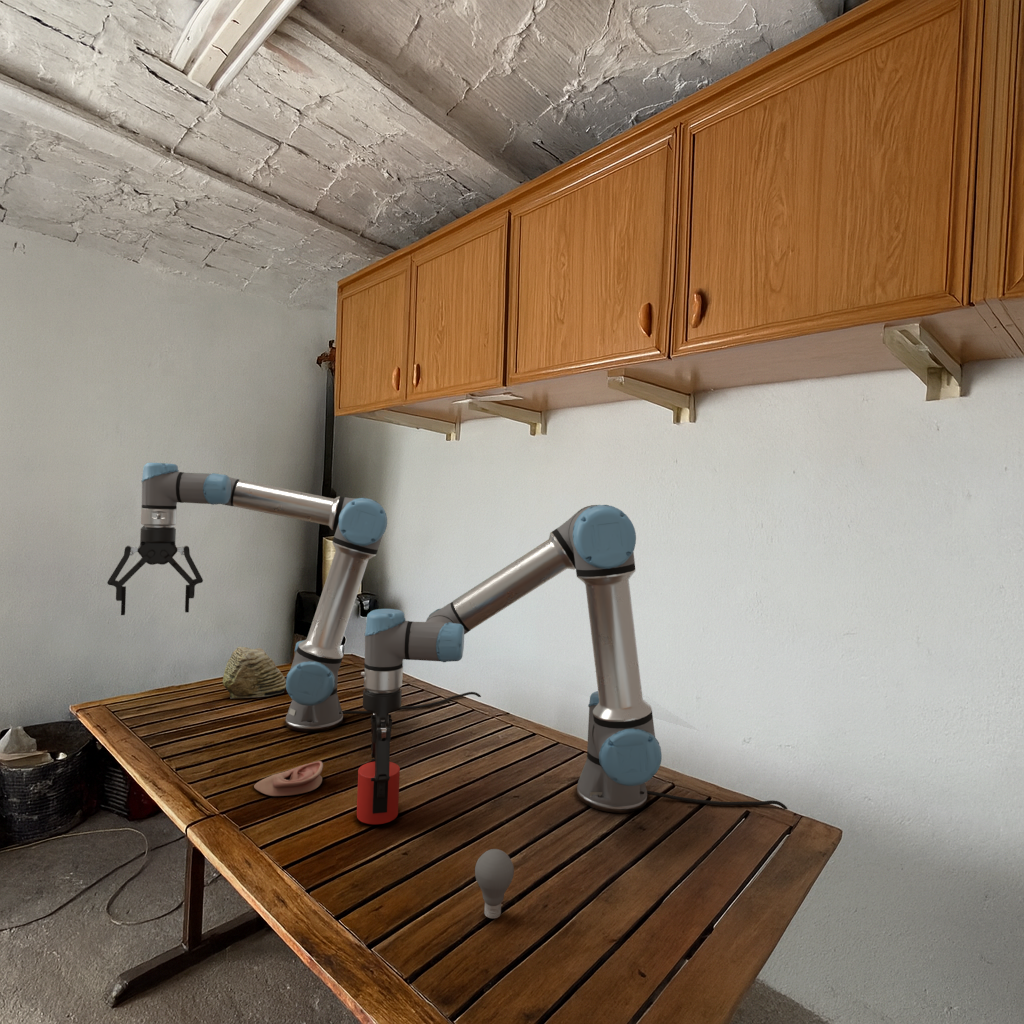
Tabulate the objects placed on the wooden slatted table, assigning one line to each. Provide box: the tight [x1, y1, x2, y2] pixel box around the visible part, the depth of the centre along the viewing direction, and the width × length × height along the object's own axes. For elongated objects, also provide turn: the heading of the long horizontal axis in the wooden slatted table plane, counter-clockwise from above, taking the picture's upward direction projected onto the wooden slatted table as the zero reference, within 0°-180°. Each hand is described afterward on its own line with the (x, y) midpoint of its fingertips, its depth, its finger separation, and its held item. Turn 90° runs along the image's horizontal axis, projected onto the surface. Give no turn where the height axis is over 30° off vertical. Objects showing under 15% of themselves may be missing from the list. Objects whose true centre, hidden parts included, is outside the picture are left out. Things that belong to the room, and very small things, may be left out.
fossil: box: [222, 646, 287, 699], centre depth 198 cm, size 9×18×15 cm, turn 132°
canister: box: [356, 761, 401, 825], centre depth 126 cm, size 8×8×9 cm
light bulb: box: [474, 848, 515, 919], centre depth 98 cm, size 6×6×10 cm
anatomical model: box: [253, 760, 324, 797], centre depth 138 cm, size 13×4×12 cm
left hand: (155, 613), depth 155 cm, fingers open, 13 cm apart
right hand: (378, 800), depth 126 cm, fingers open, 8 cm apart
